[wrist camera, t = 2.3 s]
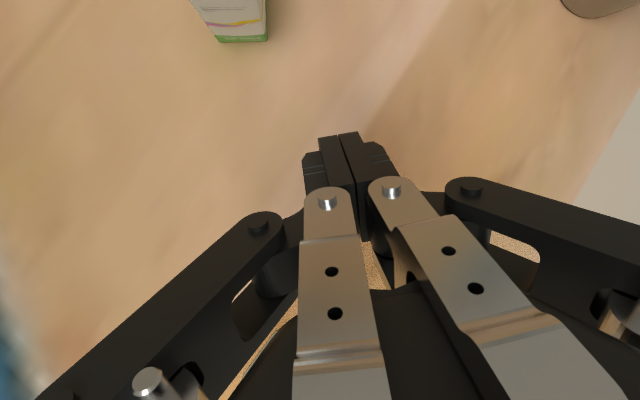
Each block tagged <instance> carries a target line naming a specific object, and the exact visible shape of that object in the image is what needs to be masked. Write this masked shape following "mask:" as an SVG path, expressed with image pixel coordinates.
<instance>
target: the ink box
mask: <svg viewBox="0 0 640 400" xmlns="http://www.w3.org/2000/svg"><path fill="white" fill-rule="evenodd" d="M189 1H190V2H191V4H192V5H193V6H194V8H195V9H196V11H197V12H198V13H199V15H200V16H201V17H202V19H203V20H204V21H205V23H206V24H207V26H208V27H209V29H210V30H211V31H212V33H213V34H214V35H215V37H216V38H217V39H218V41H219V42H253V41H267V28H266V2H265V0H189Z"/></svg>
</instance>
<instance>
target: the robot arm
mask: <svg viewBox="0 0 640 400" xmlns="http://www.w3.org/2000/svg"><path fill="white" fill-rule="evenodd" d="M562 2H563V3H564V5H565V6H566V7H567V8H568V9H569V10H570V11H571V12H573V13H575V14H577V15H578V16H581V17H585V18H598V17H602V16H606V15H609V14H611V13H614V12H617V11H620V10H622V9H625V8H628V7H631V6H634V5H636V4H639V3H640V0H562ZM318 144H319V151H316V152H310V153H306V154H305V156H304V158H303V159H302V168H303V175H304V183H305V190H306V198H305V200H304V207H303V208H302V209H301V210H300V211H299V212H298V213H296V214H294V215H292V216H290V217H288V218H285V219H283V220H282V218H281V217H280V216H279V215H278V214H276V213H274V212H268V211H263V212H257V213H253V214H250V215H248V216H246V217H245V218H243V219H242V220H240V221H239V222H238V223H237V224H236V225H235V226H233V227H232V228H231V229H230V230H229V231H228V232H226V233H225V234H224V235H223V236H222V237H221V238H220V239H218V240H217V241H216V242H215V243H214V244H213V245H211V246H210V247H209V248H208V249H207V250H206V251H205V252H203V253H202V254H201V255H200V256H199V257H198V258H196V259H195V260H194V261H193V262H192V263H191V264H190V265H188V266H187V267H186V268H185V269H184V270H183V271H181V272H180V273H179V274H178V275H177V276H176V277H175V278H173V279H172V280H171V281H170V282H169V283H168V284H166V285H165V286H164V287H163V288H162V289H161V290H160V291H158V292H157V293H156V294H155V295H154V296H153V297H151V298H150V299H149V300H148V301H147V302H146V303H145V304H143V305H142V306H141V307H140V308H139V309H138V310H136V311H135V312H134V313H133V314H132V315H131V316H130V317H128V318H127V319H126V320H125V321H124V322H123V323H121V324H120V325H119V326H118V327H117V328H116V329H115V330H113V331H112V332H111V333H110V334H109V335H108V336H106V337H105V338H104V339H103V340H102V341H101V342H100V343H98V344H97V345H96V346H95V347H94V348H93V349H91V350H90V351H89V352H88V353H87V354H86V355H85V356H83V357H82V358H81V359H80V360H79V361H78V362H76V363H75V364H74V365H73V366H72V367H71V368H70V369H68V370H67V371H66V372H65V373H64V374H63V375H61V376H60V377H59V378H58V379H57V380H56V381H55V382H53V383H52V384H51V385H50V386H49V387H48V388H46V389H45V390H44V391H43V392H42V393H41V394H40V395H39V396H38V397H37V398H36V399H35V400H218V399H219V397H220V396H221V395H222V394H223V392H224V391H225V390H226V388H227V387H228V386H229V385H230V383H231V382H232V381H233V379H234V378H235V377H236V376H237V374H238V373H239V372H240V370H241V369H242V368H243V367H244V365H245V364H246V363H247V361H248V360H249V359H250V358H251V356H252V355H253V354H254V352H255V351H256V350H257V349H258V347H259V346H260V345H261V344H262V342H263V341H264V340H265V338H266V337H267V336H268V335H269V333H270V332H271V331H272V329H273V328H274V327H275V326H276V324H277V323H278V322H279V320H280V319H281V318H282V317H283V315H284V314H285V313H286V311H287V310H288V309H289V308H290V306H291V305H292V304H293V302H294V301H295V300H296V298H297V297H298V315H296V316H295V317H293V318H292V319H291V320H289V321H288V322H287V323H286V324H284V325H283V326H282V327H281V328H280V329H279V330H278V331H277V333H276V334H275V335H274V336H273V337H272V339H271V340H270V341H269V343H268V344H267V346H266V347H265V348H264V350H263V351H262V353H261V354H260V355H259V357H258V358H257V359H256V361H255V362H254V364H253V365H252V366H251V368H250V369H249V371H248V372H247V373H246V375H245V376H244V378H243V379H242V380H241V382H240V383H239V385H238V386H237V387H236V389H235V390H234V392H233V393H232V394H231V396H230V397H229V399H228V400H640V225H637V224H633V223H630V222H627V221H623V220H620V219H617V218H613V217H610V216H606V215H603V214H600V213H596V212H593V211H589V210H586V209H583V208H579V207H576V206H573V205H569V204H566V203H563V202H559V201H556V200H553V199H549V198H546V197H542V196H539V195H536V194H532V193H529V192H526V191H522V190H519V189H515V188H512V187H509V186H505V185H502V184H499V183H495V182H492V181H489V180H485V179H482V178H477V177H460V178H456V179H453V180H451V181H449V182H448V183H447V184H446V186H445V192H424V191H419V190H418V188H417V187H416V186H415V185H414V183H413V182H412V181H410V180H409V179H407V178H404V177H400V175H399V174H398V172H397V170H396V169H395V167H394V165H393V164H392V162H391V161H390V158H389V157H388V155H387V153H386V152H385V150H384V148H383V147H382V146H381V145H379V144H377V143H375V142H374V141H373V142H367V143H363V141H362V139H361V137H360V135H359V133H358V131H356V132H350V133H344V134H338V136H337V135H333V136H327V137H321V138H318ZM492 230H493V231H495V232H498V233H500V234H503V235H506V236H508V237H511V238H513V239H516V240H519V241H521V242H524V243H526V244H529V245H531V246H532V247H533V248H535V249H536V250H537V252H538V253H539V255H540V263H536V262H533V261H531V260H529V259H526V258H524V257H521V256H519V255H516V254H514V253H512V252H509V251H507V250H504V249H502V248H499V247H497V246H495V245H492V244H490V243H489V242H490V236H491V231H492ZM359 234H360V236H359ZM360 237H361V240H362V242H366V241H371V244H372V254H373V260H374V262H375V265H376V267H377V269H378V271H379V273H380V276H381V278H382V280H383V282H384V285H385V287H386V289H387V290H376V289H369V286H368V280H367V275H366V270H365V264H364V259H363V254H362V249H361V243H360ZM250 280H252V282H251V283H250V284H249V285H248V286H247V287H246V288H245V289H244V291H243V292H242V293H241V294H240V295H239V296H238V297H237V298H236V299H235V300H234V301H233V299H234V297H235V296H236V295H237V294H238V292H239V291H240V290H241V289H242V288H243V287H244V286H245V285H246V284H247V283H248V282H249V281H250ZM232 301H233V302H232Z"/></svg>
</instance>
